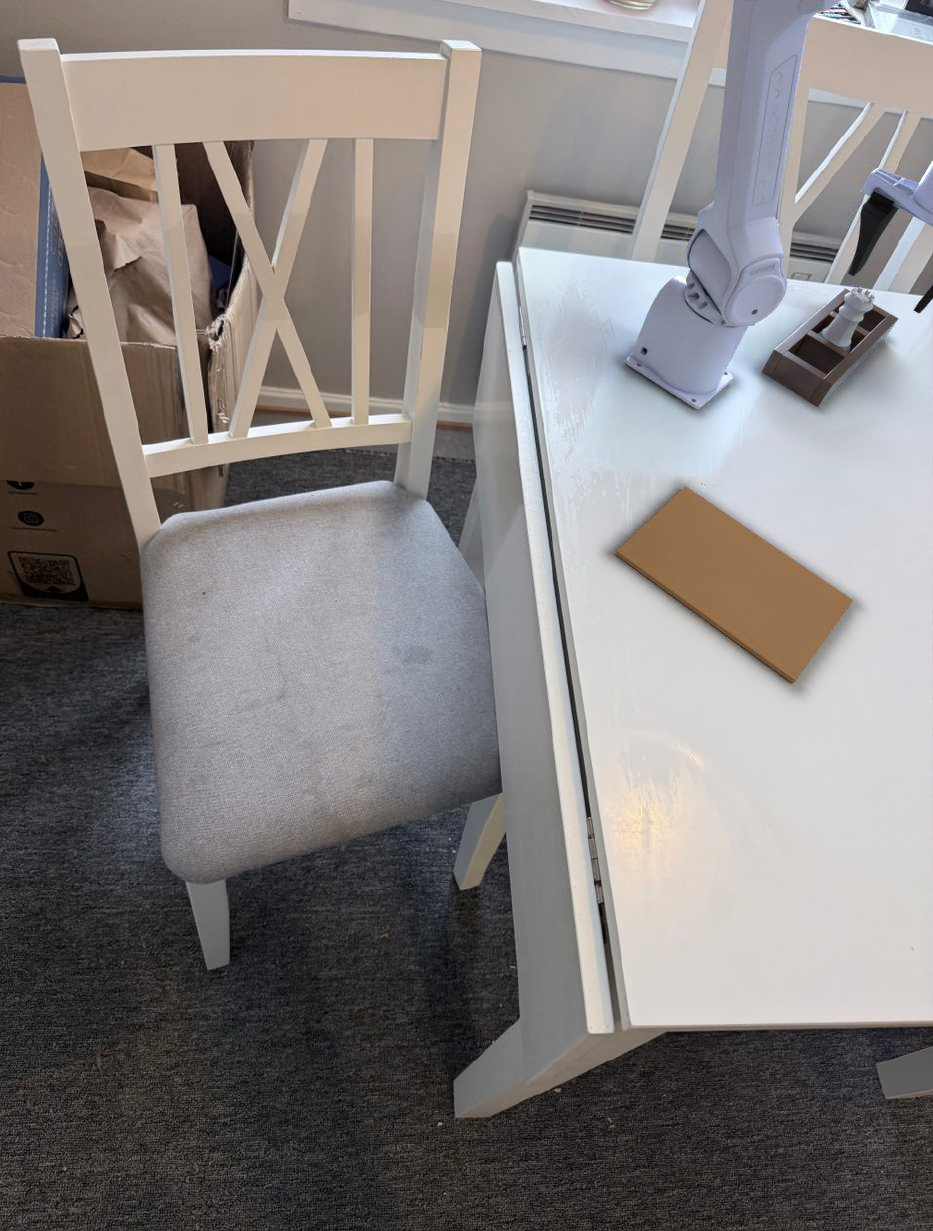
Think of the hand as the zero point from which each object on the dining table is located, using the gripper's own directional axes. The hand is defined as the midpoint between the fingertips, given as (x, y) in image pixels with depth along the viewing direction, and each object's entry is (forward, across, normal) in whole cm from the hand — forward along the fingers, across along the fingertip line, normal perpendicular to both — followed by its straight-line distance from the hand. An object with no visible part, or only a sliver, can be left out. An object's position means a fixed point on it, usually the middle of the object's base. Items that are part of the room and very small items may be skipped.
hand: (886, 290), depth 87 cm
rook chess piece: (+11, +2, -2) cm, 11 cm away
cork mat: (+10, -7, +37) cm, 39 cm away
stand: (+10, +2, -2) cm, 11 cm away
